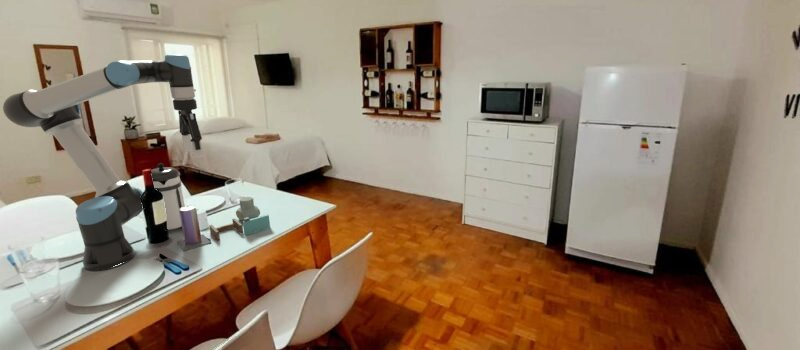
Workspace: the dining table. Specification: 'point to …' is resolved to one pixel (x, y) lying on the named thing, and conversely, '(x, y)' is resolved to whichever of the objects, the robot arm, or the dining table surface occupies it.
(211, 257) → the dining table surface
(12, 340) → the dining table surface
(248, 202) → the air freshener
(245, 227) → the teal box
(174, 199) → the coffee press
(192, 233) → the beverage can
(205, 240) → the mat
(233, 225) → the holder
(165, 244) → the dining table surface
